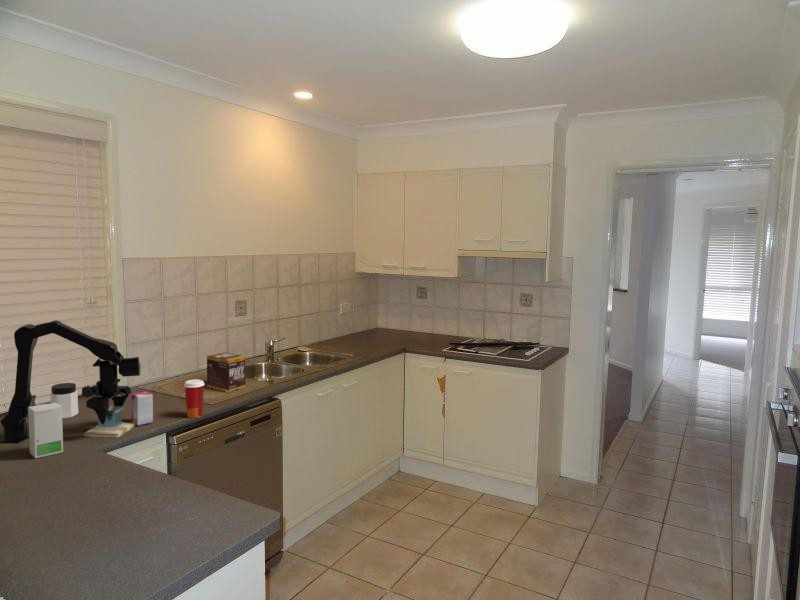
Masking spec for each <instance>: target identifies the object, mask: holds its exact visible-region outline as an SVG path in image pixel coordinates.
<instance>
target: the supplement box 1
mask: <svg viewBox="0 0 800 600" xmlns="http://www.w3.org/2000/svg"><path fill="white" fill-rule="evenodd" d="M153 398H154V397H153V394H152V393H150V392H149V391H141V392H134V393H131V423H136V426H137V427H138V426H139V427H143V426H146V425H147V426H148V425H151V424H153V423H154V407H153V405H154V403H153V402H154V401H153ZM136 426H135V427H136Z"/></svg>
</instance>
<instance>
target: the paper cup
mask: <svg viewBox="0 0 800 600" xmlns="http://www.w3.org/2000/svg"><path fill="white" fill-rule="evenodd" d="M205 385H206V384H205V382H204V380H202V379H189V380H185V382H184V384H183V387H184V392H185V395H184V396H185V405H186V415H187V418H188V419H199V418H202V417H203V414H204V409H203V408H204V392H205V391H204V388H205V387H204V386H205Z"/></svg>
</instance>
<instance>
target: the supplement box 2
mask: <svg viewBox="0 0 800 600" xmlns="http://www.w3.org/2000/svg"><path fill="white" fill-rule="evenodd" d="M208 387H209V388H208ZM243 387H247V386H246V356H245V355H240V354H238V353H237V354H235V353H232V352H226V351H224V352H223V351H222V352H219V353H213V354H207V355H206V388H208V389H211V388H213V389H212V390H215V389H217V390H216V391H219V390H221V391H220V392H223V391H228V392H229V391H232V390H235V389H239V388H243Z"/></svg>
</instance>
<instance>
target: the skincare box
mask: <svg viewBox="0 0 800 600" xmlns="http://www.w3.org/2000/svg"><path fill="white" fill-rule="evenodd" d="M28 413H29V414H28V435H29V438H28V439H29V440H28V442H29V454H30V455H31V456H32V457H33V458H35V459H38V458H43V457H47V456H52V455H57V454H60V453H61V454H62V453H64V432H63V418H62V406H61V405H59V404H57V403H51V402H50V403H43V404H37V405H36V406H30V407H28Z"/></svg>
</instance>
